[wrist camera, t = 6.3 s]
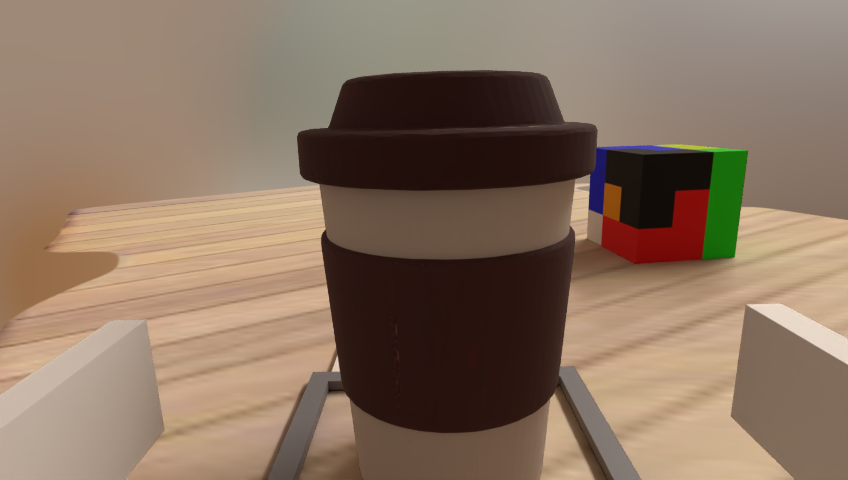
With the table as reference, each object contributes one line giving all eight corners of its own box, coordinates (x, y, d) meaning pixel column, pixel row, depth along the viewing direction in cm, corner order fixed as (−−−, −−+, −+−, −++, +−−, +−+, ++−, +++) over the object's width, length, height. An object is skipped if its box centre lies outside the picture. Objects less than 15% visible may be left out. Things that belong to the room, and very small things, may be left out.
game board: (365, 255, 52) (365, 250, 52) (503, 252, 52) (503, 247, 52) (206, 639, 14) (204, 625, 14) (719, 630, 14) (721, 615, 14)
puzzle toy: (586, 239, 57) (591, 147, 54) (670, 234, 58) (679, 144, 56) (634, 264, 47) (643, 154, 45) (734, 257, 48) (748, 150, 46)
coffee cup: (327, 411, 25) (301, 87, 21) (523, 389, 26) (530, 84, 23) (323, 596, 15) (276, 65, 12) (630, 543, 17) (672, 61, 13)
